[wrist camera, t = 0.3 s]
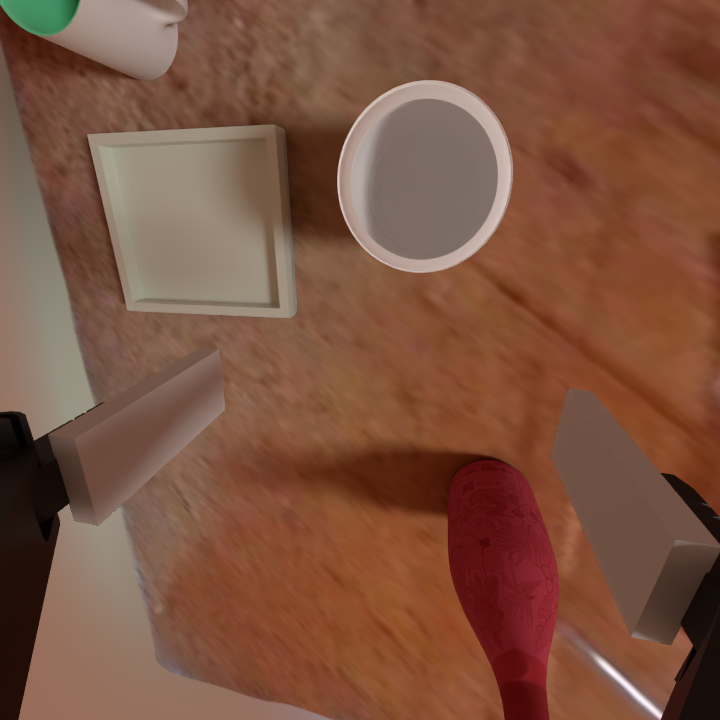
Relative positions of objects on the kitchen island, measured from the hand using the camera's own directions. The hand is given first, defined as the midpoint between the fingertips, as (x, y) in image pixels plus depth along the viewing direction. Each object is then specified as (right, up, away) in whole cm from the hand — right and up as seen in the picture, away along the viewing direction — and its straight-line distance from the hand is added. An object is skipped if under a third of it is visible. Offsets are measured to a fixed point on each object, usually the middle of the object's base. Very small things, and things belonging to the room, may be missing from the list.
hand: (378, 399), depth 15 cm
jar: (+6, +17, +22) cm, 29 cm away
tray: (-18, +16, +27) cm, 36 cm away
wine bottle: (+15, -14, +32) cm, 38 cm away
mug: (-20, +33, +21) cm, 44 cm away
